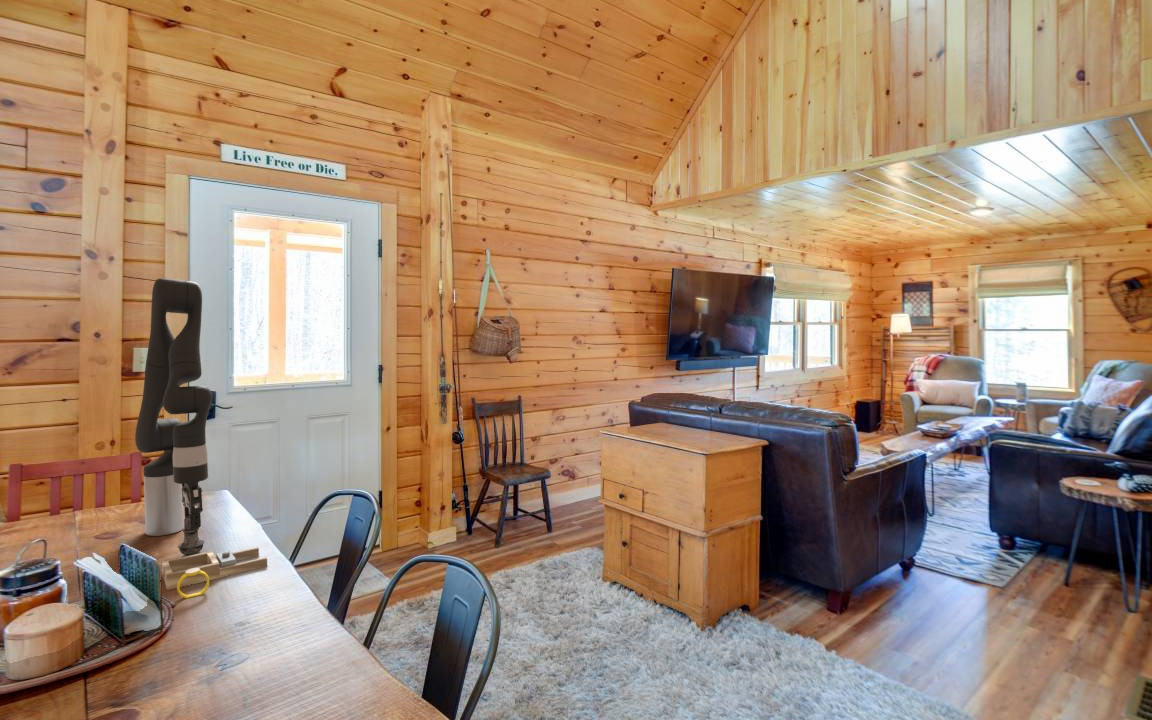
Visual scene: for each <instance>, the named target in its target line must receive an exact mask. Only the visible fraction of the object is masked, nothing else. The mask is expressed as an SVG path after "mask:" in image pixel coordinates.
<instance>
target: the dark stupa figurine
mask: <svg viewBox="0 0 1152 720" xmlns="http://www.w3.org/2000/svg"><path fill="white" fill-rule="evenodd" d="M183 519H184V528H183V529H182V532H183V533H184V534H183V535H184V536H183V541H182V542H180V543H179V544H178V545H177V548H178V551H179V552H180V553H181V554H182V556H180V557H179V558H181V557H185V556H190V555H195V554H200V553H201V551H202V549H203V548H204V544H205V542H206V541H205V540H203V539H200V537H199V530H200V527H199V528H194V529H191V527H190V515H189V516H187V517H186V518H185V517H184V518H183Z"/></svg>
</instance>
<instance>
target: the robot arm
mask: <svg viewBox="0 0 1152 720" xmlns="http://www.w3.org/2000/svg"><path fill="white" fill-rule="evenodd" d="M201 287H202V286H200V284H199V283H198V282H195V281H190V280H183V279H172V278H163V277H161V278H157V279H156V280H155V281H154V283H153V287H152V291H151V308H150V309H151V312H150V332H149V340H148V341H149V342H148V346H147V353H146V361H145V367H144V379H143V380H144V381H143V390H142V391H143V393H142V397H141V398H142V399H141V405H140V409H139V412H138V413H139V414H138V417H137V418H138V419H137V423H136V427H135V433H134V434H135V435H134V438H135V439H134V440H135V446H136V448H137V451H139V452H140V453H143V454H147V453H148V454H151V453H155V452H162V451H163V453H162V454H161V455H160V456H159V457H158V458H156V459H155V460H153V461H151V462H149V463H147V464H145V466H144V467H143V489H144V490H143V493H144V498H143V499H144V525H145V527H144V528H145V529H144V532H145V536H150V537H158V536H159V537H160V536H166V535H172V534H175V533H178V532H180V531H183V530H184V519H185V518H186V517H187V516H189V515H190V527H191V529H194V528H199V529H200V527H201V526H202V523H201V522H202V521H201V517H202V516H201V513H202V512H203V510H204V508H203V495H202V491H203V489H202V487H200V485H199V483H200V482H204V481H205V480H207V479H208V478H209V468H208V467H209V466H208V465H209V464H208V449H207V445H206V443H207V441H206V425H207V421H208V420H207V418H208V415H209V412H210V408H211V407H212V406H211V405H212V403H213V402H212V401H213V393H212V391H211V389H209V388H208V387H207V386H205V385H192V386H191V385H189V386H188V385H187V386H182V385H184V384H187V383H193V382H195V381H197V380H199V379H200V378H201V376H202V363H201V351H200V350H201V347H200V344H201V342H200V341H201V330H202V329H201V328H202V315H203V314H202V313H203V293H202V292H203V291H202V288H201ZM167 313H170V314H171V313H172V314H183V315H184V314H185V315H187V320H186V323H185V325H184V326H183V328H182V329H181V330H180V332H178V334H177V335H176V337H175V336H174V334H173V333H172V331H171V328H170V327H169V324H168V321H167ZM162 408H163V409H164V411H165V412H167V413H168V414H169V415H184V414H185V415H187V414H195V416H194V417H193V418H192V419H190V420H188V421H184V422H182V421H181V420H180V419H178V418H176V417H174V418H173V417H172V418H170V417H169V418H161V419H159V416H160V413H161V410H162Z"/></svg>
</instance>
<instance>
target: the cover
mask: <svg viewBox="0 0 1152 720" xmlns="http://www.w3.org/2000/svg"><path fill="white" fill-rule="evenodd" d="M232 553H233V552H232V551H231V550H227V551H223V552H219V553H216V557H217V560H218V562H219V564H220V568H221V567H225V566H230V565H234V564H237V561H236V559H235V557H234V556H233V554H232Z"/></svg>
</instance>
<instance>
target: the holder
mask: <svg viewBox="0 0 1152 720" xmlns="http://www.w3.org/2000/svg"><path fill="white" fill-rule="evenodd" d="M259 550H260V549H259V547H257V546H256V547H251V548H247V549H244V550H239V551H238V550H237V551H234V552H231V553H232V554H233V556H234V557H235V559H236V562H237V561H241V559H242V560H246V559H250V558H254V556H255V557H258V555H260V551H259ZM180 557H181V558H180ZM180 557H177V558H173V559H172V558H171V559H167V560H164V561H161V577H162V580H163V583H164V585H166V586H165V588H166V591H171V590H175V589H174V588H176V589H177V583H178V581H179V579H180V578H181V577H182V576H183V575H184V574H185V572H186V571H187V570H189V569H192V568H199V569H200V570H201V571H204V572H205V573H206V574H207V575H208V577H209V581H212V580H217V579H220V578H223V577H227V576H232V575H236V574H241V573H245V572H248V571H252V570H257V569H261V568H265V567H268V557H266V556H264V557H261V558H257V559H253V560H247V561H243V562H239V563H236V564H234V565H230V566H225V567H221V568H220V564H219V562H218V560H217V557H216V556H215V554H214V553H213V551H212V550H210V551H206V552H205V551H204V552H200V554H195V555H190V556H185V557H182V556H180ZM204 581H205V582H207V578H206V577H205V576H204V575H203V574H199V573H198V574H196V575H193V576H187V577H186V578H184V579H183V580H182V582H181V584H180V588H183V587H182V586H184V587H187V585H188V586H191V584H192V585H196V584H201V583H204Z"/></svg>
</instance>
